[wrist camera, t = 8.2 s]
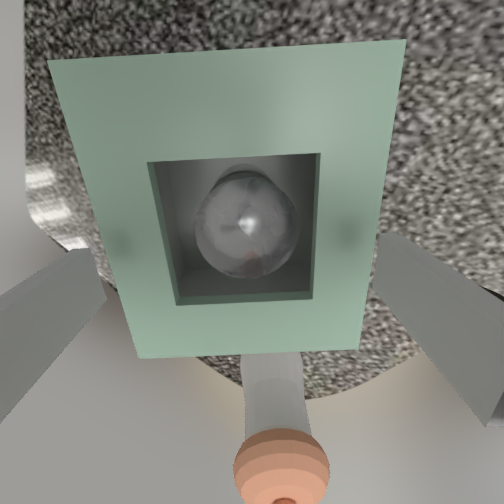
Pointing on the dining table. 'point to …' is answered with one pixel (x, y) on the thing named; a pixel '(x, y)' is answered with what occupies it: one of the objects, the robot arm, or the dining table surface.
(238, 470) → the pepper shaker
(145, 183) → the caddy
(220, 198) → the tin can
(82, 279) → the robot arm
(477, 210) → the dining table surface
